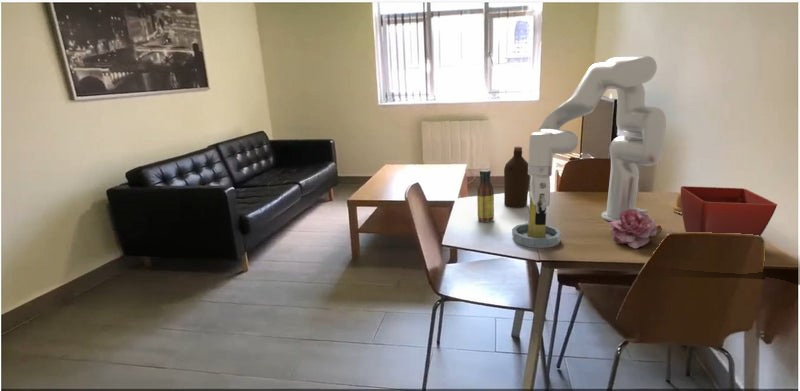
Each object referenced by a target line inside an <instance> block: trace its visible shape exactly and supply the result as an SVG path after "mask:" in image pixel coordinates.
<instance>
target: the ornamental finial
mask: <svg viewBox="0 0 800 391" xmlns="http://www.w3.org/2000/svg"><path fill="white" fill-rule="evenodd" d="M673 210H675V211H678V212H682V207H681V193H680V194H679V195H677V198H676V202H675V204H674V206H673V207H672V211H673Z"/></svg>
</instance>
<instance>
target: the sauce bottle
mask: <svg viewBox="0 0 800 391" xmlns="http://www.w3.org/2000/svg"><path fill="white" fill-rule="evenodd" d="M491 174H492V173H491V170H490V169H487V168H486V169H479V175H480V177H479V178H480V179H479V184H478V185H477V189H476V190H477V194H476V196H477V197H476V198H477V203H476V204H477V219H478V221H479V222H482V223H490V222H493V221H494V220H495V202H494V201H495V195H494V194H495V192H494V187H493V184H492V183H491V182H492V181H491Z"/></svg>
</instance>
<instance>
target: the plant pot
mask: <svg viewBox="0 0 800 391" xmlns="http://www.w3.org/2000/svg"><path fill="white" fill-rule="evenodd" d="M680 194H681V207H682V215H681V216H682V220H683V221H682V222H683V225H684V230H685V233H686V232H712V233H741V234H753V235H759V236H760V237H761V236H762V235H763V233H764V231H765V230H766V228H767V226H768V224H769V223H770V221H771V219H772V217H773V216H774V214H775V212H776V209H777V206H778V204H777V203H775V202H773V201H771V200H770V199H767V198H766V197H763V195H762V196H761V195H760V194H757V193H755V192H753V191H751V190H749V189H746V188H741V187H740V188H739V187H712V186H686V185H685V186H683V185H682V186H680Z"/></svg>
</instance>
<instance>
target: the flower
mask: <svg viewBox="0 0 800 391" xmlns="http://www.w3.org/2000/svg"><path fill="white" fill-rule="evenodd" d="M608 224H609V227H610V228H612V230H610V233H611V236H612V237H613V241H615V242H616V243H619V244H627V245H628V246H629V248H631V247H633V248H632V249H639V248H640V247H644V246H645V245H647V244H648V243H649V242H650V240H651V238H653V237H654V236H657V235H659V234H660V233H662V230H663V228H662V226H661V225H660V224H659V225H656V219H654V218H652V217H651V218H650V217H649V214H647V215H646V214H644V213H639V212H638V211H636V210H634V209H628V210H625V211H622V213H620V221H612V222H611V221H608Z"/></svg>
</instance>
